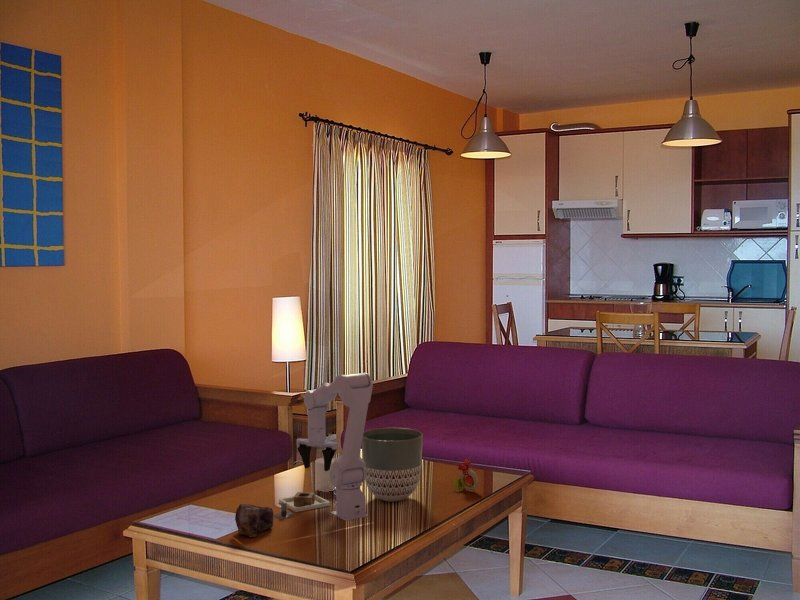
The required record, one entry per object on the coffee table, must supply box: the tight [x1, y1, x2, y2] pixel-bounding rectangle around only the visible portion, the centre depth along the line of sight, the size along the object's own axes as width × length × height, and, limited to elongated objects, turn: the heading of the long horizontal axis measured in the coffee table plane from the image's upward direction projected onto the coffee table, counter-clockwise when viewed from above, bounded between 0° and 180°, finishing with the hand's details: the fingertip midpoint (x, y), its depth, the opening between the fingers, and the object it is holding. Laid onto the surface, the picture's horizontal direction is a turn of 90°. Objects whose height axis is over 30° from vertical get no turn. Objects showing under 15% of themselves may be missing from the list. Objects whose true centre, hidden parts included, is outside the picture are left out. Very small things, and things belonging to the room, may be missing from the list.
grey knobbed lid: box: [273, 502, 295, 520], centre depth 253 cm, size 6×6×4 cm
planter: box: [361, 427, 424, 503], centre depth 270 cm, size 20×20×21 cm
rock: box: [234, 503, 275, 538], centre depth 239 cm, size 12×9×10 cm
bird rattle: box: [452, 458, 480, 493], centre depth 280 cm, size 6×11×9 cm
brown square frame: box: [294, 491, 316, 507], centre depth 264 cm, size 6×7×3 cm
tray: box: [278, 494, 331, 513], centre depth 265 cm, size 12×12×2 cm
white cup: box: [314, 457, 337, 493], centre depth 282 cm, size 8×8×10 cm
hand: (317, 469), depth 271 cm, fingers open, 7 cm apart
